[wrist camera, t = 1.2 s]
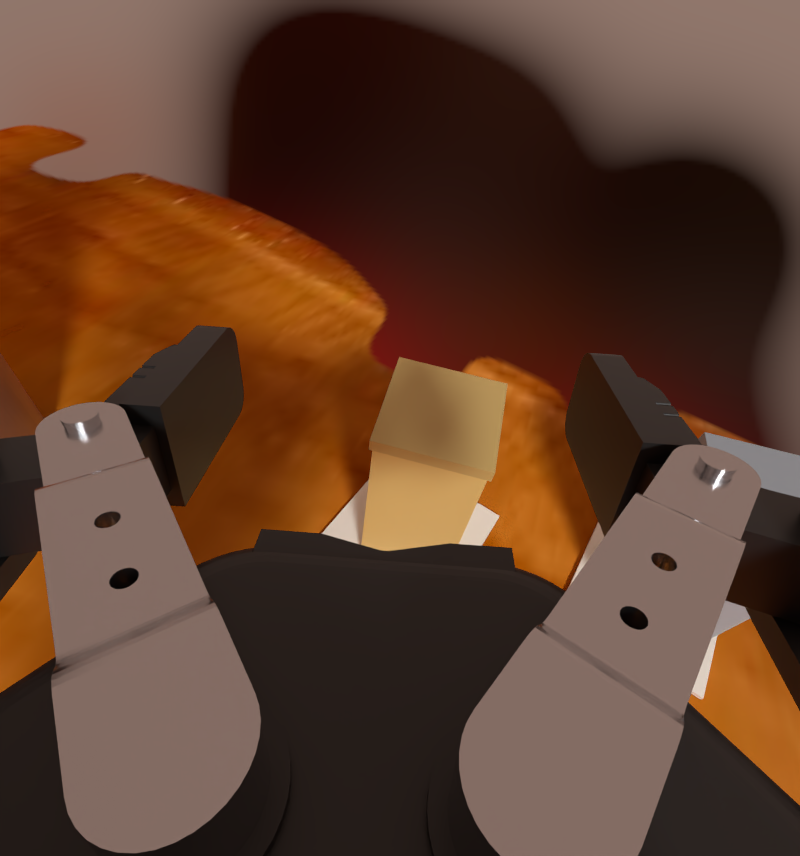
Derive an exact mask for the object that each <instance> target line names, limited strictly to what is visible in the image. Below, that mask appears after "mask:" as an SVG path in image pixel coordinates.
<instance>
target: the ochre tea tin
mask: <svg viewBox="0 0 800 856" xmlns="http://www.w3.org/2000/svg"><path fill="white" fill-rule="evenodd" d="M506 391H507V384H506V383H502V382H498V381H494V380H490V379H486V378H482V377H478V376H474V375H470V374H466V373H462V372H458V371H454V370H449V369H445V368H442V367H437V366H433V365H430V364H426V363H421V362H417V361H413V360H409V359H405V358H401V357H399V359H398V362H397V365H396V368H395V370H394V373H393V376H392V379H391V382H390V385H389V387H388V390H387V393H386V396H385V399H384V401H383V404H382V407H381V410H380V413H379V416H378V418H377V421H376V424H375V427H374V430H373V432H372V435H371V438H370V442H369V450H372V458H371V466H370V475H369V483H368V492H367V500H366V509H365V518H364V526H363V535H362V543H361V545H364V546H367V547H371V548H374V549H378V550H382V551H393V550H401V549H409V548H417V547H425V546H433V545H441V544H449V543H452V544H459V542H460V540H461V538H462V535H463V533H464V531H465V529H466V527H467V524H468V522H469V520H470V518H471V515H472V513H473V511H474V509H475V506H476V504H477V502H478V500H479V498H480V495H481V493H482V491H483V489H484V486H485V484H486V482H487V481H492V478H493V476H494V474H495V469H496V462H497V455H498V448H499V441H500V434H501V427H502V420H503V413H504V405H505V398H506Z"/></svg>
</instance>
